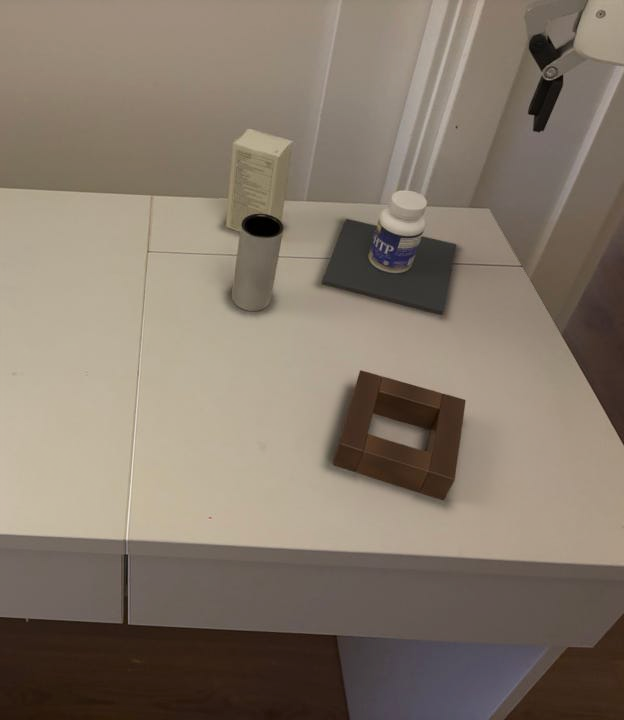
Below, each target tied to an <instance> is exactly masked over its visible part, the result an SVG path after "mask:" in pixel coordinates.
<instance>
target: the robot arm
mask: <svg viewBox="0 0 624 720" xmlns="http://www.w3.org/2000/svg"><path fill="white" fill-rule="evenodd" d="M573 14H576V16H575V17H574V18H575V19H574V21H573V25H572V33H574V34H573V35H572V36H570V37H569V38H567V39H565V40H564V41H562V42H561V43H560V44H558V45H556V46H555V45H554V43H553V41H552V39H551V37H550V36H549V34H548V30H547V25H548V23H550V21H553V20H555V19H559V18H562V17H566V16H570V15H573ZM523 17H524V18H523V19H524V25H525V31H526V32H525V33H526V37H527V44H528V51H529V53H530V54H531V56H532V58H533V59H534V61H535V63H536V64H537V66H538V68H539V70H540V72H541V76H540V79H539V81H538V83H537V86H536V88H535V91H534V93H533V96H532V98H531V100H530V103H529V106H528V109H527V115H528V116H529V115H530V116H533V125H532V132H536V133H541V132H544V131H545V129H546V126H547V124H548V122H549V120H550V117H551V115H552V113H553V110H554V109H555V105H556V103H557V102H558V99H559V96H560V94H561V92H562V90H563V87H564V75H565V74H567V72H569V71H571V70H572V69H574V68H576V67H577V66H579V65H580V64H582V63H584V62H586V61H587V60H588V61H590V62H596V63H600V64H606V65H612V66H617V67H624V0H537V1H532V2H531V3H529V4H528V5H526V6H525V9H524V16H523Z"/></svg>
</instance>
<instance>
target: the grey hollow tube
mask: <svg viewBox="0 0 624 720" xmlns="http://www.w3.org/2000/svg"><path fill="white" fill-rule="evenodd" d="M284 229H285V228H284V224H283V222H282V220H281V221H280V220H279V219H277V218H276V217H274V216H271V215H268V214H252V215H249V216H247V217H245V218H244V219H243V220H242V222H241V229H240V232H239V236H238V237H239V238H238V244H237V250H236V251H237V252H236V259H235V260H236V262H235V267H234V275H233V281H232V282H233V283H232V289H231V300H232V302H233V304H235V306H237V307H238V308H240V309H241V310H244V311H251V312H258V311H262V310H264V309H266V308H267V307H269V305H270V304H271V301H272V300H271V299H272V296H273V289H274V285H275V279H276V272H277V268H278V262H279V258H280V252H281V246H282V240H283V235H284Z"/></svg>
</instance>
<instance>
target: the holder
mask: <svg viewBox="0 0 624 720" xmlns="http://www.w3.org/2000/svg"><path fill="white" fill-rule="evenodd" d="M466 402H467V401H466V399H463V398H460V397H457V396H453V395H450V394H446V393H442V392H439V391H436V390H433V389H429V388H425V387H422V386H419V385H418V386H417V385H415V384H410V383H407V382H404V381H401V380H398V379H393V378H390V377H387V376H386V377H385V376H382V375H379V374H376V373H372V372H369V371H365V370H359V372H358V376H357V379H356V382H355V385H354V388H353V391H352V394H351V397H350V401H349V405H348V409H347V412H346V416H345V419H344V423H343V426H342V428H341V429H342V430H341V433H340V436H339V440H338V443H337V447H336V450H335V454H334V457H333V461H332V465H333V466H335V467H339V468H342V469H346V470H347V471H351V472H355V473H357V474H359V475H363V476H366V477H370V478H373V479H376V480H379V481H382V482H385V483H388V484H392V485H394V486H398V487H401V488H404V489H407V490H410V491H413V492H417V493H420V494H423V495H425V496H429V497H432V498H435V499H438V500H442V501H445V499H446V497H447V495H448V494H449V491H450V489H451V488H452V486H453V484H454V482H455V479H456V472H457V465H458V458H459V451H460V444H461V438H462V437H461V436H462V431H463V423H464V416H465V409H466ZM373 414H375V415H379V416H382V417H385V418H389V419H392V420H394V421H395V420H396V421H399V422H402V423H406V424H409V425H413V426H415V427H419V428H422V429H426V430H428V431H429V436H428V440H427V441H428V442H427V447H426V451H425V450H422V449H418V448H415V447H412V446H409V445H405V444H402V443H398V442H395V441H392V440H388V439H386V438H382V437H379V436H376V435H373V434H370V433H369V430H370V425H371V422H372V419H373Z"/></svg>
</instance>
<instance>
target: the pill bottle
mask: <svg viewBox="0 0 624 720" xmlns="http://www.w3.org/2000/svg"><path fill="white" fill-rule="evenodd" d="M427 204H428V200H427V198H426V197H424V196H423V195H422V194H421V193H418V192H416V191H412V190H407V189H406V190H405V189H404V190H397V191H395V192H394V193H393V194H392V195H391V198H390V200H389V203H388V207H386V208H384V209H383V210H382V211H381V213H380V214H379V218H378V221H377V224H376V226H377V227H376V231H375V234H374V238H373V241H372V245H371V248H370V252H369V260H370V262H371V264H372V265H373V266H374V267H376V268H377V269H379V270H381V271H384V272H388V273H402V272H405V271H407V270H408V269H409V268H410V267H411V266H412V263H413V260H414V257H415V255H416V252H417V249H418V246H419V243H420V240H421V237H422V236H424V235H423V234H424V231H425V228H426V225H427V223H426V222H427V221H426V218H425V216H424V214H425V212H426V210H427V209H426V208H427Z"/></svg>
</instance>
